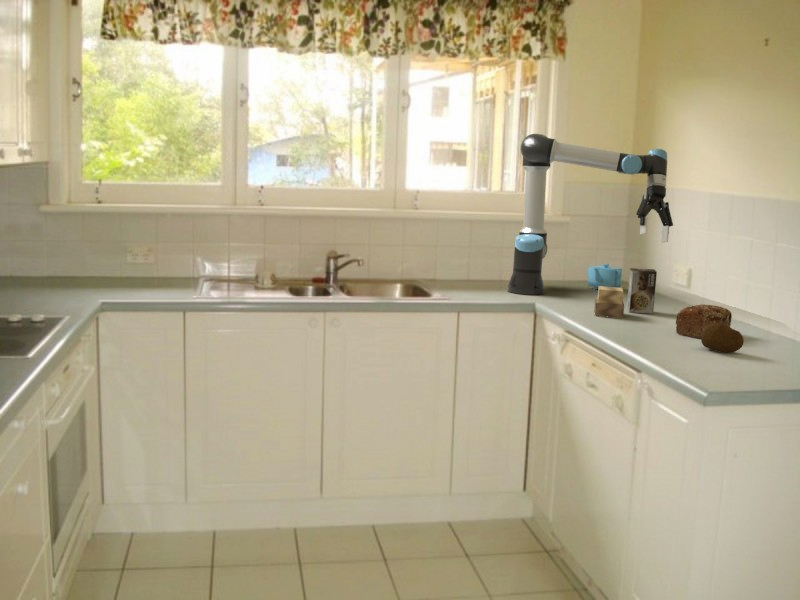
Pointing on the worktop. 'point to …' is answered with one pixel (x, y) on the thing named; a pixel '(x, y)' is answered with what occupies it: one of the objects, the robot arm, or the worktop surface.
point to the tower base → (608, 309)
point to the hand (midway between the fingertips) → (654, 238)
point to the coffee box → (641, 290)
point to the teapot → (604, 276)
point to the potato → (721, 338)
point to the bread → (700, 319)
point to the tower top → (610, 295)
